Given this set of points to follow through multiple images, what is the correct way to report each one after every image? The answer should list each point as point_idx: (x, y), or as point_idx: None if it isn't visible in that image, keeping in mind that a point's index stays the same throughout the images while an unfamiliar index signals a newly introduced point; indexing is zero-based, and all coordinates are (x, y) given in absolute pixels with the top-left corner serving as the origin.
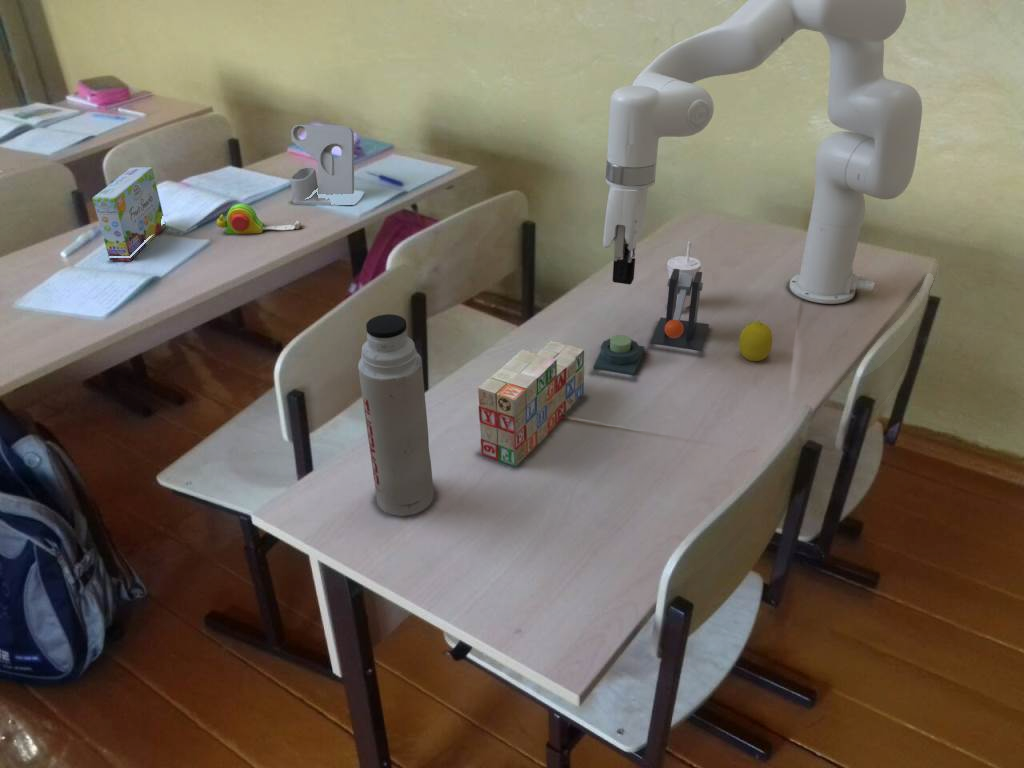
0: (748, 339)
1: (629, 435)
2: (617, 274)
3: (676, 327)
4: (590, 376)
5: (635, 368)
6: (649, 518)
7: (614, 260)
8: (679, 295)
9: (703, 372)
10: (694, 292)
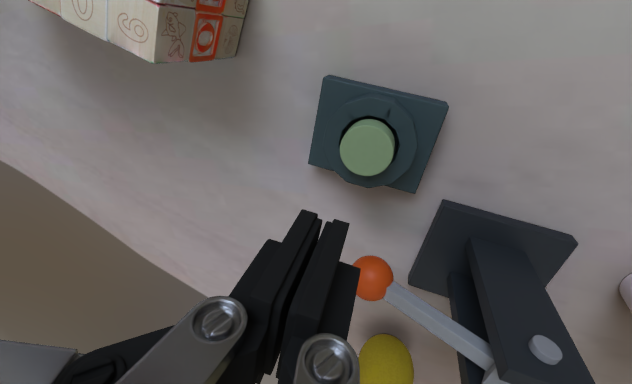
0: (364, 368)
1: (163, 141)
2: (258, 254)
3: None
4: (317, 67)
5: (321, 167)
6: (40, 155)
7: (204, 301)
8: (466, 343)
9: None
10: (464, 379)
